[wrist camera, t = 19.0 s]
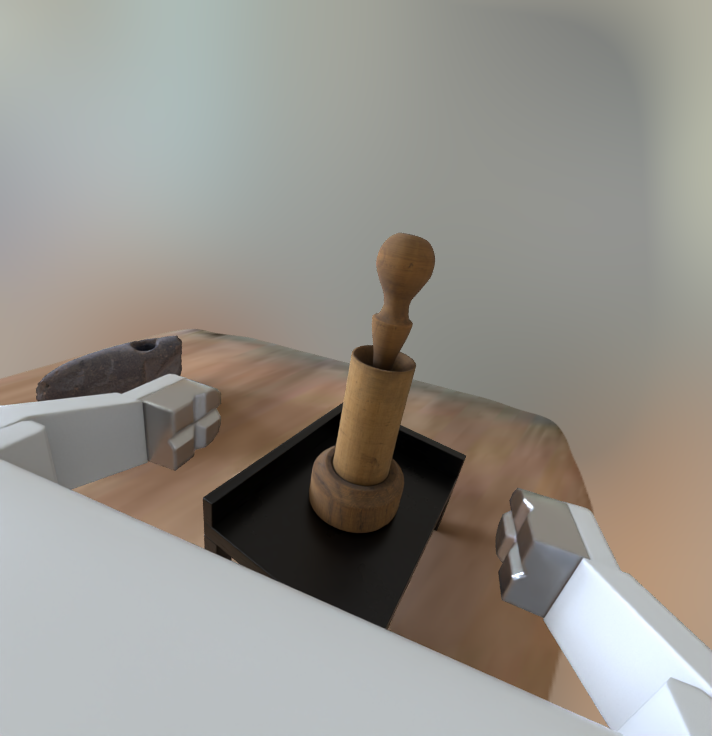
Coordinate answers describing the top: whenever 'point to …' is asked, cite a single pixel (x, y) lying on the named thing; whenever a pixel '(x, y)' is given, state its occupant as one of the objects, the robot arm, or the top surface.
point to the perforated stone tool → (113, 369)
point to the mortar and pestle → (374, 402)
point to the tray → (319, 539)
